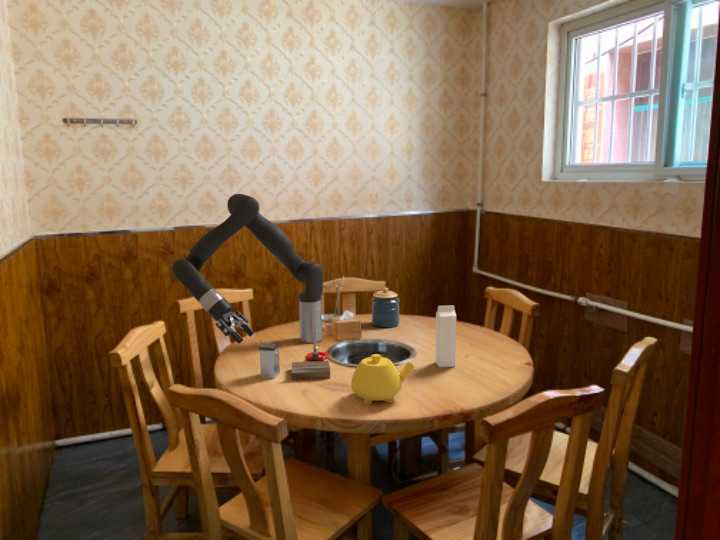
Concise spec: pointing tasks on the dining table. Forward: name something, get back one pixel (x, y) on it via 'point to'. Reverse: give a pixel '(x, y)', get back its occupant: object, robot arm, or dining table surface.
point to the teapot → (378, 379)
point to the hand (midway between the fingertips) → (247, 338)
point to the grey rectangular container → (269, 360)
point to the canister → (385, 309)
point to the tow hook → (316, 351)
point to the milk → (446, 336)
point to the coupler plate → (310, 370)
